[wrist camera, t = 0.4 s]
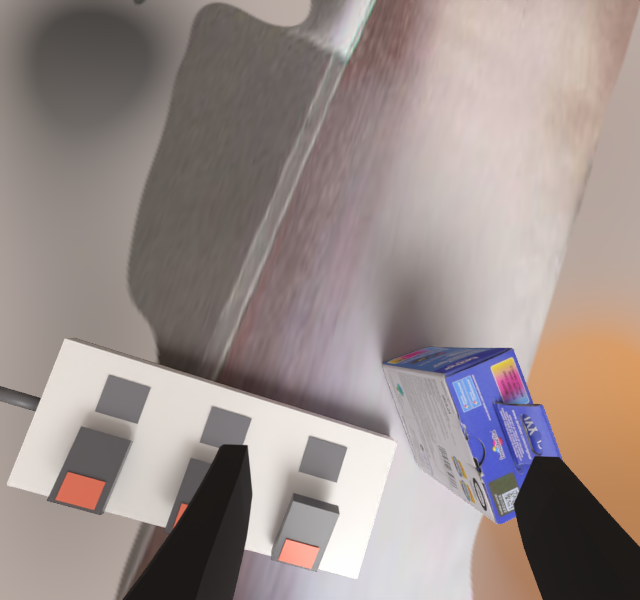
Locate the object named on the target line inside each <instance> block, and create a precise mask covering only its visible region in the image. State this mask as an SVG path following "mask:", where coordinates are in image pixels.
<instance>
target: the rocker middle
mask: <svg viewBox="0 0 640 600" xmlns="http://www.w3.org/2000/svg"><path fill="white" fill-rule="evenodd" d="M210 466H211V463H207V462H204V461H200V460H197V459H193V458H190V461H189V464H188V467H187V469H186V472H185V475H184V478H183V480H182V483H181V486H180V489H179V492H178V494H177V497H176V500H175V503H174V505H173V508H172V511H171V514H170V517H169V519H168V522H167V525H166V528H165V530H164V532H166V533H169V534H170V533H171V531H172V530H173V528H174V527H175V525H176V524H177V522H178V520H179V519H180V517H181V516H182V514H183V512H184V511H185V509H186V508H187V506H188V504H189V503H190V501H191V500H192V498H193V496H194V495H195V493H196V491H197V489H198V488H199V486H200V484H201V482H202V481H203V479H204V477H205V475H206V473H207V471H208V470H209V468H210Z"/></svg>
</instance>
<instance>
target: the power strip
mask: <svg viewBox="0 0 640 600" xmlns="http://www.w3.org/2000/svg"><path fill="white" fill-rule="evenodd" d="M0 401H2V402H5V403H9V404H12V405H15V406H19V407H22V408H26V409H29V410H33V411H36V412H35V415H34V417H33V420H32V422H31V425H30V427H29V430H28V432H27V435H26V437H25V440H24V442H23V445H22V447H21V450H20V452H19V455H18V457H17V460H16V462H15V465H14V467H13V470H12V472H11V475H10V477H9V480H8V482H7V485H8V486H12V487H16V488H19V489H23V490H27V491H30V492H35V493H38V494H42V495H45V496H49V495H50V492H51V490H52V488H53V486H54V484H55V482H56V479H57V477H58V475H59V473H60V471H61V469H62V467H63V464H64V462H65V460H66V458H67V456H68V454H69V451H70V449H71V447H72V445H73V443H74V441H75V438H76V436H77V434H78V432H79V430H80V428H81V426H82V427H86V428H90V429H93V430H97V431H100V432H104V433H107V434H111V435H114V436H118V437H121V438H124V439H128V440H131V441H133V443H132V446H131V448H130V451H129V453H128V455H127V458H126V460H125V463H124V465H123V468H122V470H121V472H120V475H119V477H118V480H117V482H116V484H115V487H114V489H113V492H112V494H111V497H110V499H109V501H108V504H107V506H106V509H105V512H109V513H113V514H116V515H120V516H124V517H127V518H131V519H135V520H138V521H142V522H146V523H150V524H153V525H157V526H161V527H165V528H166V525H167V522H168V519H169V517H170V514H171V511H172V508H173V505H174V503H175V500H176V497H177V494H178V492H179V489H180V486H181V483H182V480H183V478H184V475H185V472H186V469H187V467H188V464H189V461H190V458H193V459H197V460H200V461H204V462H207V463H211V464H212V462H213V460H214V458H215V456H216V454H217V452H218V450H219V447H220V446H222V445H223V444H234V445H248V453H249V463H250V473H251V483H252V493H253V495H252V503H251V511H250V519H249V526H248V533H247V539H246V544H245V548H244V549H246V550H250V551H254V552H258V553H261V554H265V555H269V556H271V550H272V547H273V545H274V542H275V539H276V537H277V534H278V531H279V529H280V526H281V524H282V521H283V518H284V516H285V513H286V510H287V508H288V505H289V503H290V500H291V497H292V495H293V493H296V494H299V495H303V496H306V497H309V498H313V499H316V500H320V501H323V502H327V503H330V504H334V505H337V506H338V507H339V513H340V515H339V517H338V520H337V522H336V525H335V527H334V530H333V532H332V535H331V537H330V540H329V542H328V545H327V547H326V550H325V552H324V555H323V557H322V560H321V562H320V565H319V567H318V569H321V570H325V571H328V572H332V573H336V574H340V575H343V576H347V577H351V578H354V579H357V578H358V574H359V571H360V568H361V564H362V561H363V558H364V554H365V551H366V547H367V544H368V541H369V537H370V534H371V530H372V527H373V524H374V520H375V517H376V513H377V510H378V507H379V503H380V500H381V496H382V493H383V490H384V486H385V483H386V479H387V476H388V473H389V469H390V466H391V462H392V459H393V456H394V452H395V449H396V445H397V441H395V440H394V439H393V438H391V437H390V436H387V435H384V434H380V433H377V432H374V431H371V430H368V429H364V428H361V427H358V426H355V425H352V424H348V423H345V422H342V421H339V420H336V419H332V418H329V417H326V416H323V415H320V414H316V413H313V412H310V411H307V410H304V409H300V408H297V407H294V406H291V405H288V404H284V403H281V402H278V401H275V400H272V399H268V398H265V397H262V396H259V395H256V394H252V393H249V392H246V391H243V390H240V389H236V388H233V387H230V386H227V385H224V384H220V383H217V382H214V381H211V380H208V379H204V378H201V377H198V376H195V375H192V374H188V373H185V372H182V371H179V370H176V369H172V368H169V367H166V366H163V365H160V364H156V363H153V362H150V361H147V360H143V359H140V358H137V357H134V356H131V355H128V354H124V353H121V352H118V351H115V350H112V349H108V348H105V347H102V346H99V345H96V344H93V343H89V342H86V341H83V340H80V339H77V338H65V339H64V342H63V344H62V347H61V349H60V352H59V354H58V357H57V359H56V362H55V364H54V367H53V369H52V372H51V375H50V377H49V380H48V382H47V385H46V387H45V390H44V392H43V395H42V397H41V398H39V397H35V396H32V395H28V394H25V393H22V392H18V391H15V390H11V389H8V388H5V387H1V386H0Z"/></svg>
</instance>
